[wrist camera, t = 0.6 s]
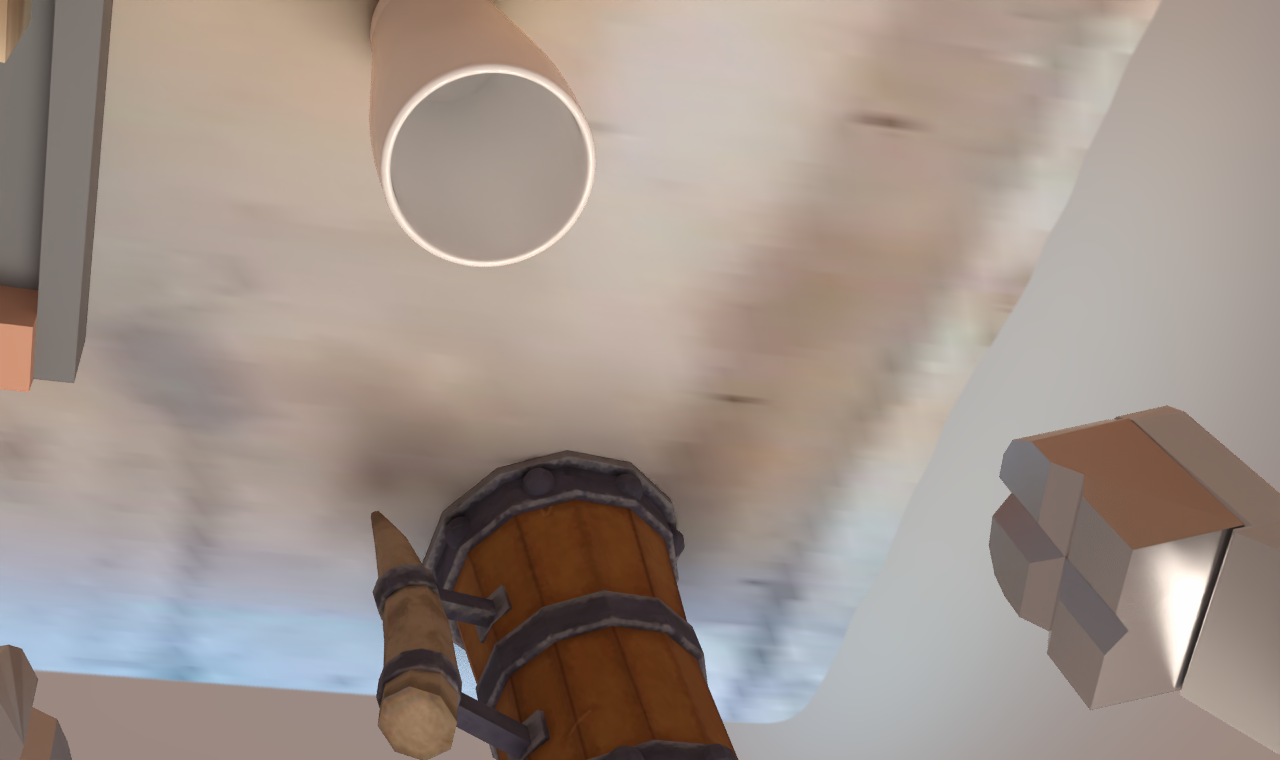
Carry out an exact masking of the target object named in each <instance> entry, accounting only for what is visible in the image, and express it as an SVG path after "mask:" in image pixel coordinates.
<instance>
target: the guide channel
mask: <svg viewBox="0 0 1280 760" xmlns="http://www.w3.org/2000/svg"><path fill="white" fill-rule="evenodd" d="M112 4H113V0H32V9H31V22H30V23H29V25H28V27H27V28H26V30H25V31H24V33H23V35H22V36H21V38H20V40H19V41H18V43H17V44H16V46H15V48H14V49H13V51H12V53H11V54H10V56H9V57H8V59H7V61H6V62H5V63H3V62H0V389H4V390H14V391H24V392H29V391H30V387H31V384H32V381H33V379H39V380H49V381H58V382H68V383H74V381H75V377H76V373H77V370H78V366H79V362H80V358H81V354H82V351H83V347H84V343H85V336H86V323H87V311H88V299H89V287H90V274H91V262H92V250H93V238H94V225H95V213H96V201H97V188H98V176H99V164H100V152H101V139H102V127H103V115H104V103H105V90H106V78H107V66H108V54H109V41H110V29H111V17H112Z"/></svg>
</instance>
